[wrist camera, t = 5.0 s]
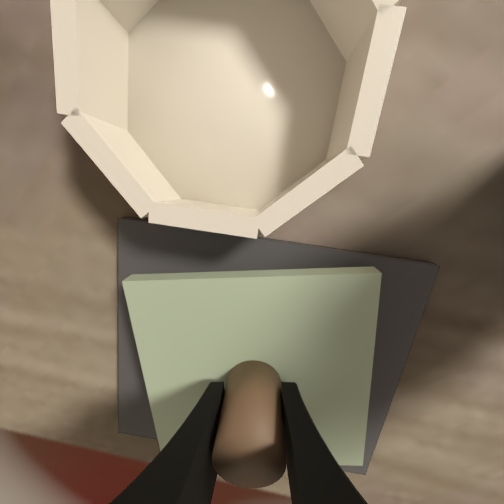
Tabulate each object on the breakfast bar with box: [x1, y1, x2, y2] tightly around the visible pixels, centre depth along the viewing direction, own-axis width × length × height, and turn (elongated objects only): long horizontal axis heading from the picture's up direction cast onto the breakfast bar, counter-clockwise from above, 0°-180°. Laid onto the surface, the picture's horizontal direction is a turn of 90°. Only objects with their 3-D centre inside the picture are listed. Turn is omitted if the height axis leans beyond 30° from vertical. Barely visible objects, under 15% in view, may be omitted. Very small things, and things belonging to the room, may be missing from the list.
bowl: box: [50, 0, 407, 239], centre depth 9 cm, size 11×11×4 cm
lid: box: [122, 266, 382, 488], centre depth 11 cm, size 11×11×4 cm
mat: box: [118, 217, 440, 475], centre depth 14 cm, size 16×14×1 cm
